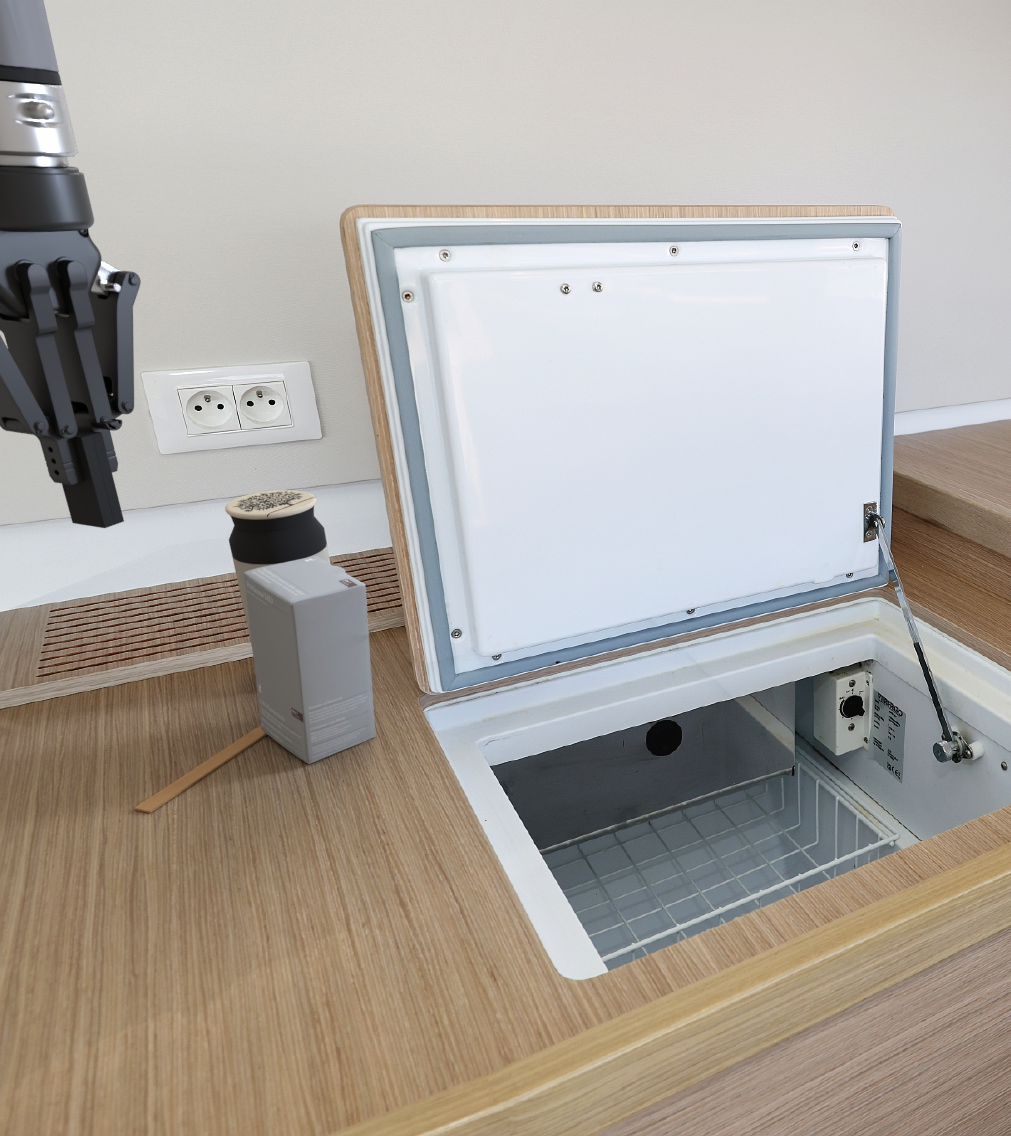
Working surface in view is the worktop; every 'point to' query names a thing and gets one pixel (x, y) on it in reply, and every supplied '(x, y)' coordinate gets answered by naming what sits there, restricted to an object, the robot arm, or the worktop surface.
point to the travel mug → (273, 532)
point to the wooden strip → (200, 771)
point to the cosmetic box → (311, 656)
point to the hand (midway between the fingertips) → (98, 521)
